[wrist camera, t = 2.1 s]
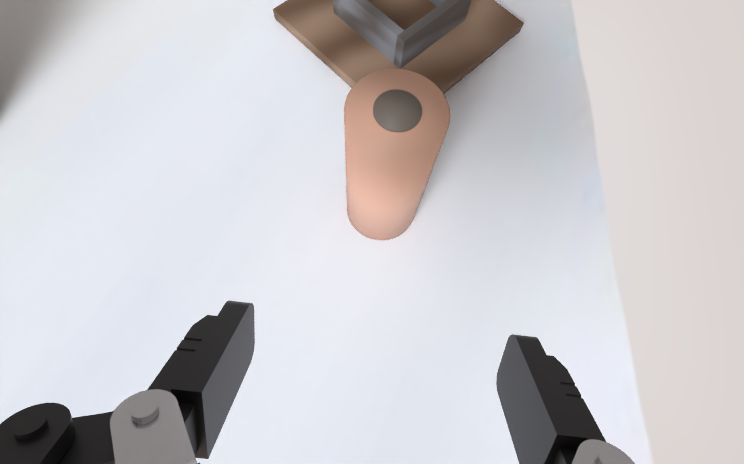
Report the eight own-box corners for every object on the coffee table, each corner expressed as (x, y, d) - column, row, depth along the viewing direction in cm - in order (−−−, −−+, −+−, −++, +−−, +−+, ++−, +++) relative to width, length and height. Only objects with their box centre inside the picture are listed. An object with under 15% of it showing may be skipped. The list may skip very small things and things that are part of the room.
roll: (332, 206, 31) (321, 105, 20) (381, 165, 32) (397, 49, 21) (380, 253, 30) (397, 177, 18) (428, 209, 31) (472, 113, 20)
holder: (275, 18, 37) (266, -23, 33) (398, -60, 41) (402, -104, 37) (398, 130, 34) (404, 98, 30) (519, 31, 38) (537, -7, 34)
